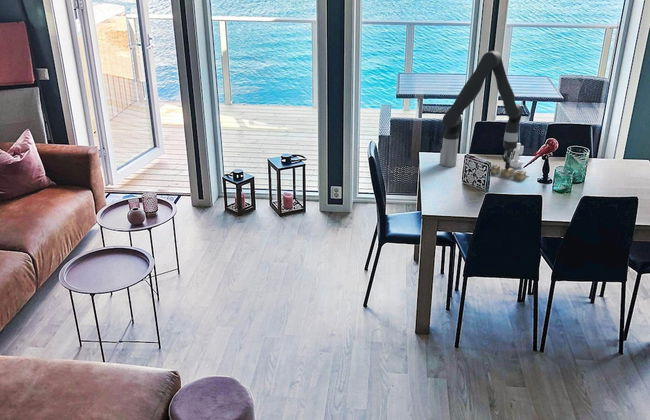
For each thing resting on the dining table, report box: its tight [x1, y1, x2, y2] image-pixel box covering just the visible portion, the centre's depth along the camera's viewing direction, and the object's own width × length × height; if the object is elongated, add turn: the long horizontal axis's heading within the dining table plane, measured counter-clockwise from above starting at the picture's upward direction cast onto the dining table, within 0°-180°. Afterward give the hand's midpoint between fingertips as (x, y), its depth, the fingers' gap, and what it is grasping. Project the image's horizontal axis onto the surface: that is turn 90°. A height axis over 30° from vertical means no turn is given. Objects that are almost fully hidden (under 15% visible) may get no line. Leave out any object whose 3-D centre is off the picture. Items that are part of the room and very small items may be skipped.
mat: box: [490, 169, 530, 183], centre depth 359 cm, size 22×14×1 cm, turn 50°
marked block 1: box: [490, 163, 501, 174], centre depth 362 cm, size 5×5×4 cm
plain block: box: [500, 166, 514, 177], centre depth 358 cm, size 5×5×4 cm
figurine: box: [510, 142, 525, 169], centre depth 371 cm, size 7×9×15 cm
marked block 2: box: [513, 169, 527, 181], centre depth 353 cm, size 5×5×4 cm
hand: (507, 168), depth 357 cm, fingers closed
